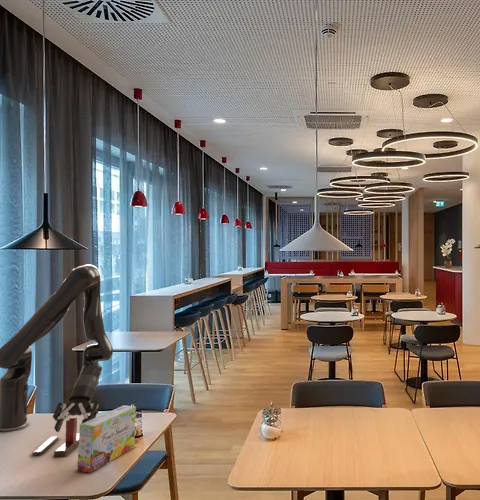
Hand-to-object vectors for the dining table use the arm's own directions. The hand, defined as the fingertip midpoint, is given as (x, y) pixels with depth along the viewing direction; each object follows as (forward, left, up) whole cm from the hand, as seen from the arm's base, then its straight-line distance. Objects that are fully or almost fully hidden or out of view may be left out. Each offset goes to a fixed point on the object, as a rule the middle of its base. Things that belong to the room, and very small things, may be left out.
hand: (69, 430), depth 165 cm
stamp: (0, +1, -6) cm, 7 cm away
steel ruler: (-8, +2, -6) cm, 11 cm away
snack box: (+16, -11, -7) cm, 20 cm away
